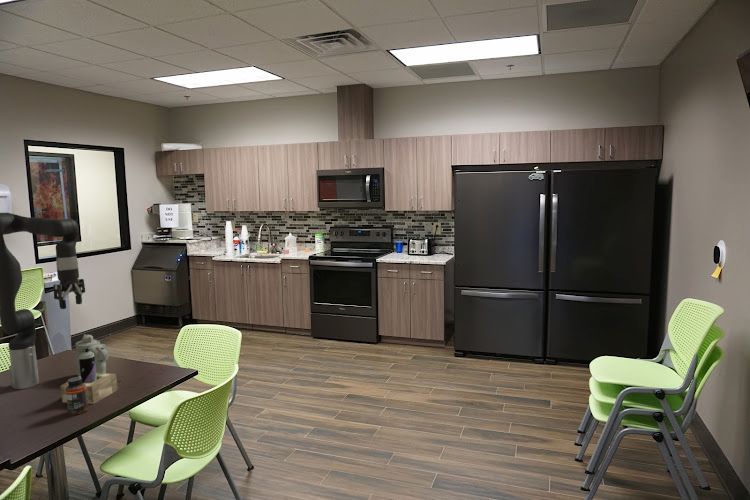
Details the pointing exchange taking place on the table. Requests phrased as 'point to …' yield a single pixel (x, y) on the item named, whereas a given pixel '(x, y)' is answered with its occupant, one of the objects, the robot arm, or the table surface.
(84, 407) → the supplement bottle
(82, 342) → the grey animal cookie jar
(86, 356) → the spray can
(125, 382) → the table surface
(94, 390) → the tube block
